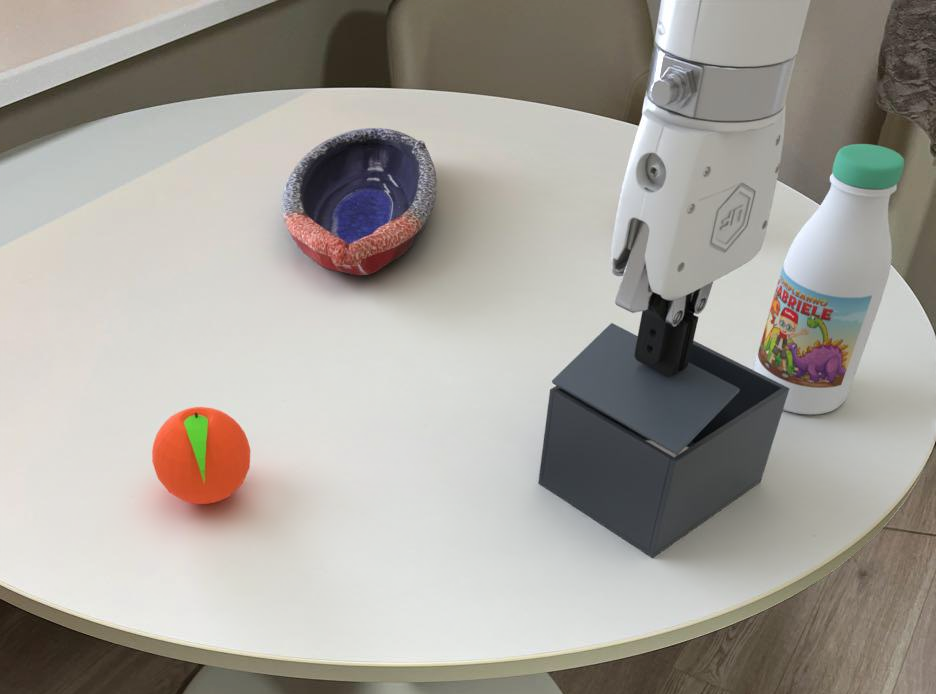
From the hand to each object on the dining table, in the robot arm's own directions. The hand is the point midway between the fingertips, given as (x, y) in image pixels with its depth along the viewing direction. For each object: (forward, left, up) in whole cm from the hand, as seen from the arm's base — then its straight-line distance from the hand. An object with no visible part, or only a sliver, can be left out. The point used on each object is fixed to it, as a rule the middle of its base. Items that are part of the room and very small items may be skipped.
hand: (660, 363), depth 70 cm
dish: (+47, -13, -11) cm, 50 cm away
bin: (0, -2, -11) cm, 11 cm away
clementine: (+20, +24, -11) cm, 33 cm away
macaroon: (0, -3, -11) cm, 11 cm away
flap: (0, +1, -1) cm, 2 cm away
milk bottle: (0, -21, -11) cm, 24 cm away
